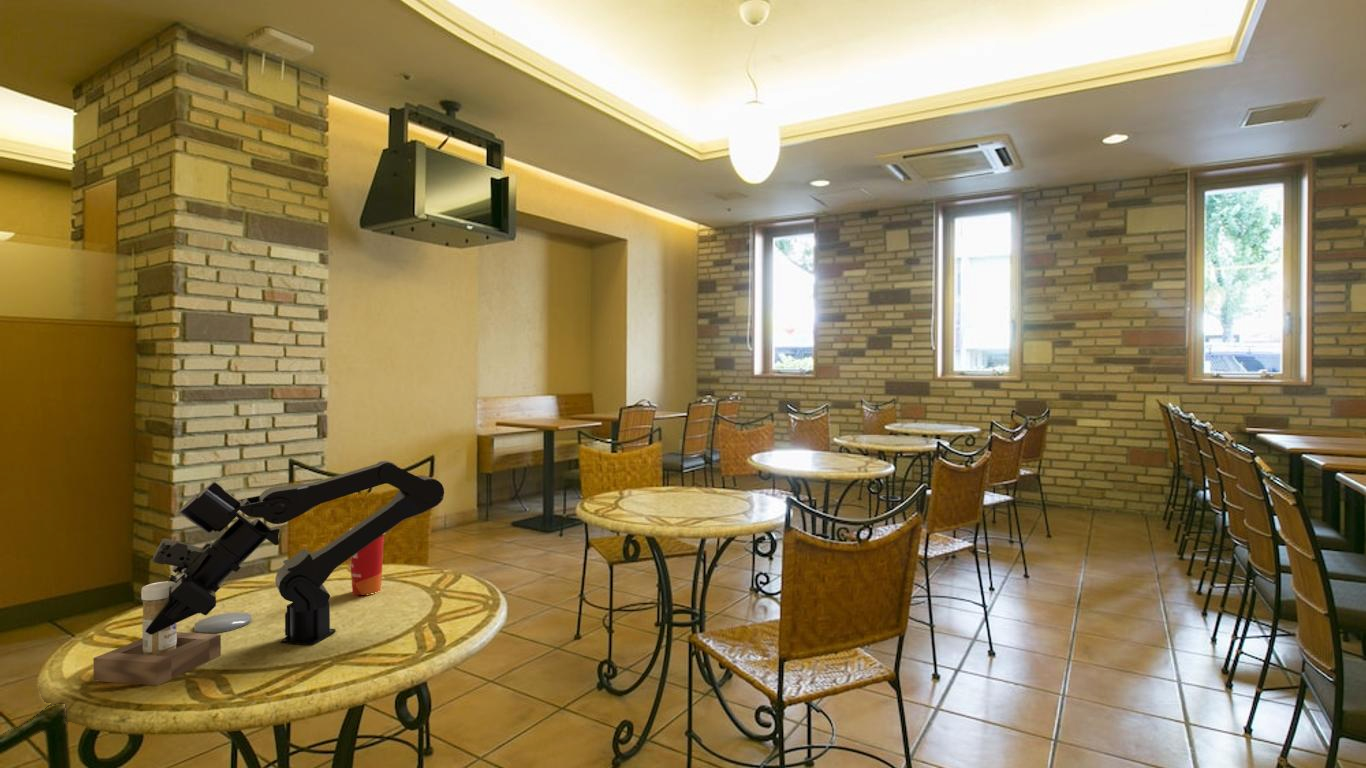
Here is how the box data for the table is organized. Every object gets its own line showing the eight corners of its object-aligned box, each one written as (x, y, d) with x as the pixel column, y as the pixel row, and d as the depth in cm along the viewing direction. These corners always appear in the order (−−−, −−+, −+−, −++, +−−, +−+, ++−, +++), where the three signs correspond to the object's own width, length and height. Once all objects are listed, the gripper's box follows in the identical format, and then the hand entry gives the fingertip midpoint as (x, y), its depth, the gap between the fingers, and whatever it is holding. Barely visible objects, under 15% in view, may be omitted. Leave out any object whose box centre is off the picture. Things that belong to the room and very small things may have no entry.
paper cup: (350, 588, 151) (350, 525, 151) (387, 585, 154) (387, 523, 154) (344, 599, 144) (343, 533, 144) (383, 595, 146) (383, 530, 146)
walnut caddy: (220, 655, 114) (220, 634, 114) (158, 685, 103) (158, 662, 103) (161, 651, 116) (161, 630, 116) (93, 680, 105) (93, 658, 105)
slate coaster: (262, 617, 133) (262, 613, 133) (225, 634, 124) (225, 630, 124) (222, 615, 134) (222, 611, 134) (181, 632, 125) (181, 627, 125)
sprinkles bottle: (176, 669, 109) (175, 585, 109) (140, 676, 107) (139, 590, 106) (178, 659, 113) (177, 578, 113) (143, 665, 110) (143, 583, 110)
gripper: (188, 511, 119) (107, 585, 113) (189, 530, 104) (95, 616, 98) (242, 549, 124) (167, 622, 118) (250, 572, 109) (164, 658, 103)
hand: (148, 628), depth 109 cm, fingers closed on sprinkles bottle, 4 cm apart
